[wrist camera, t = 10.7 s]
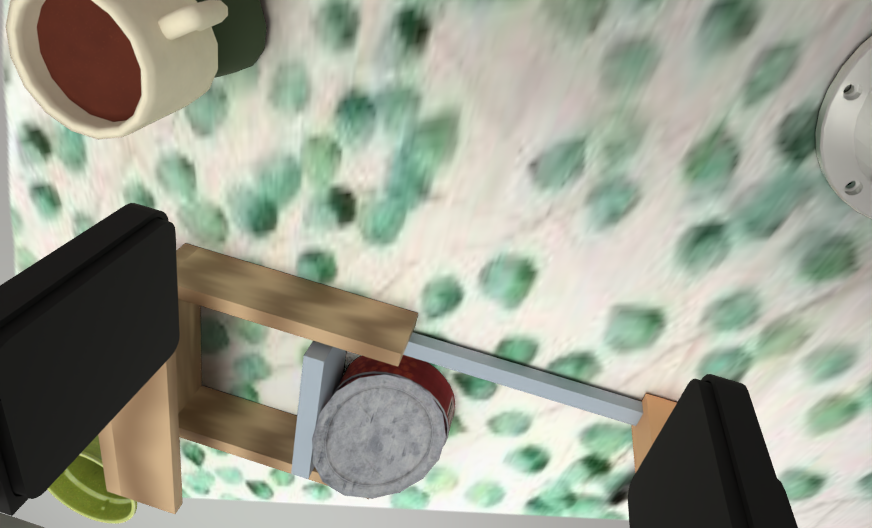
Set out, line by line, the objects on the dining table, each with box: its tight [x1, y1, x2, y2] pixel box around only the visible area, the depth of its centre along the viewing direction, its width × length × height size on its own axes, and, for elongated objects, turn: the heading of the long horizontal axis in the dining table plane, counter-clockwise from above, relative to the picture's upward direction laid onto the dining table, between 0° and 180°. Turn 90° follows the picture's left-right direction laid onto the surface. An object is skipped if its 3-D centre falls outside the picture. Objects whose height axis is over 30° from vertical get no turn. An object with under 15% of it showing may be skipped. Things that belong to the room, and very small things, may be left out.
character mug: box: [6, 0, 267, 139], centre depth 32 cm, size 11×7×13 cm, turn 111°
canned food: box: [312, 355, 455, 499], centre depth 48 cm, size 11×10×10 cm
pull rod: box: [291, 332, 677, 479], centre depth 46 cm, size 28×14×7 cm, turn 79°
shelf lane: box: [98, 243, 418, 514], centre depth 46 cm, size 19×16×12 cm
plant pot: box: [47, 435, 137, 523], centre depth 56 cm, size 9×9×9 cm
